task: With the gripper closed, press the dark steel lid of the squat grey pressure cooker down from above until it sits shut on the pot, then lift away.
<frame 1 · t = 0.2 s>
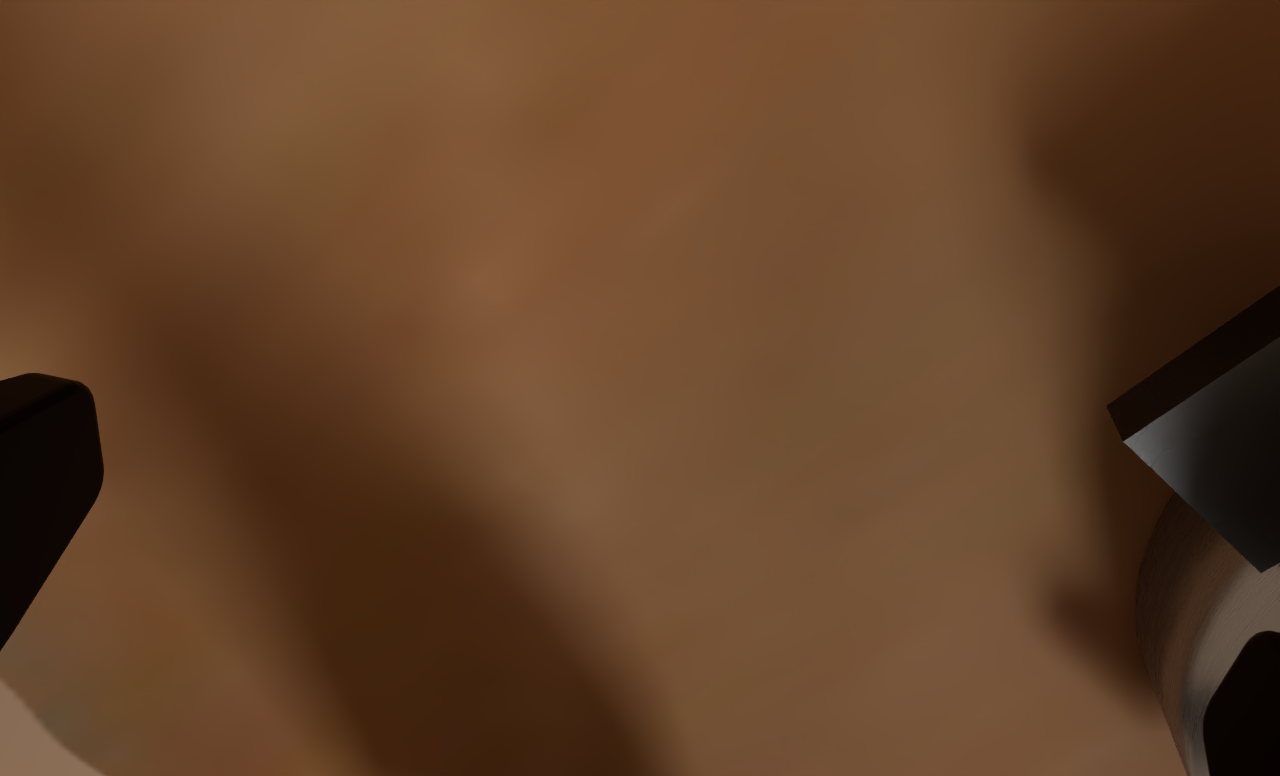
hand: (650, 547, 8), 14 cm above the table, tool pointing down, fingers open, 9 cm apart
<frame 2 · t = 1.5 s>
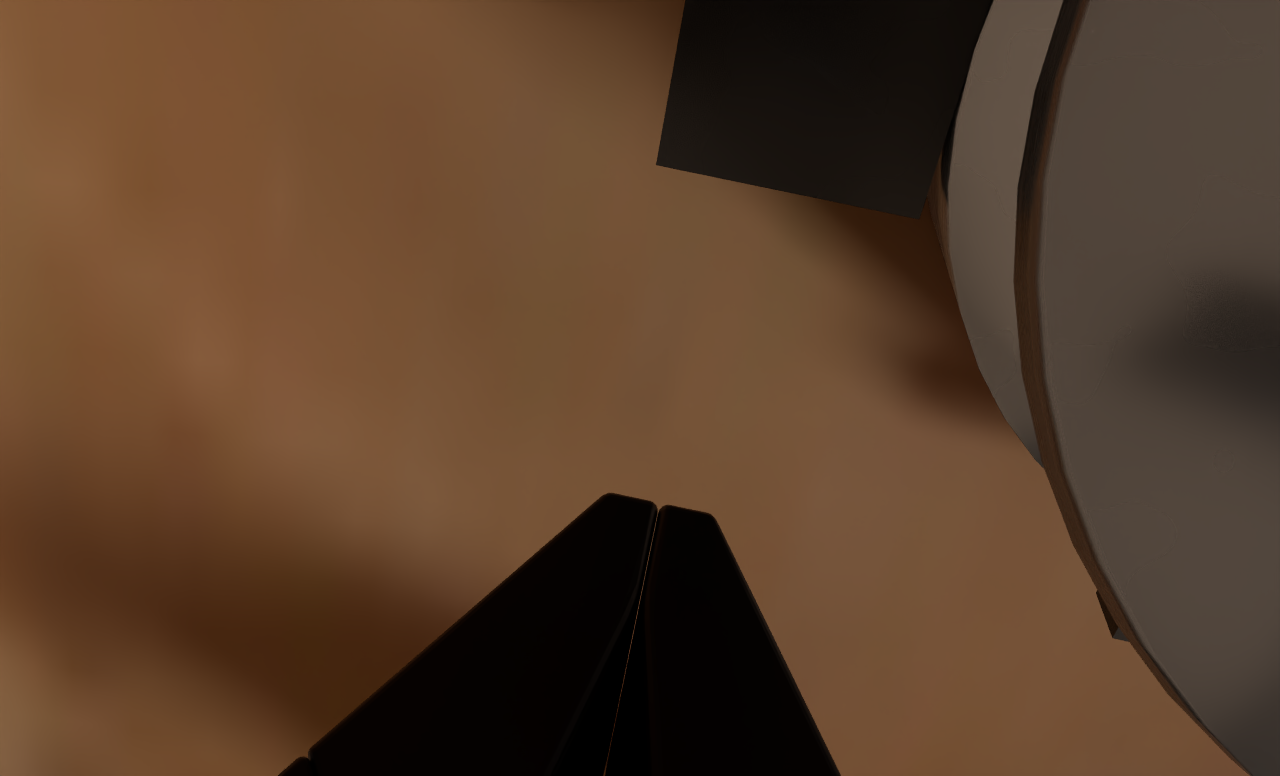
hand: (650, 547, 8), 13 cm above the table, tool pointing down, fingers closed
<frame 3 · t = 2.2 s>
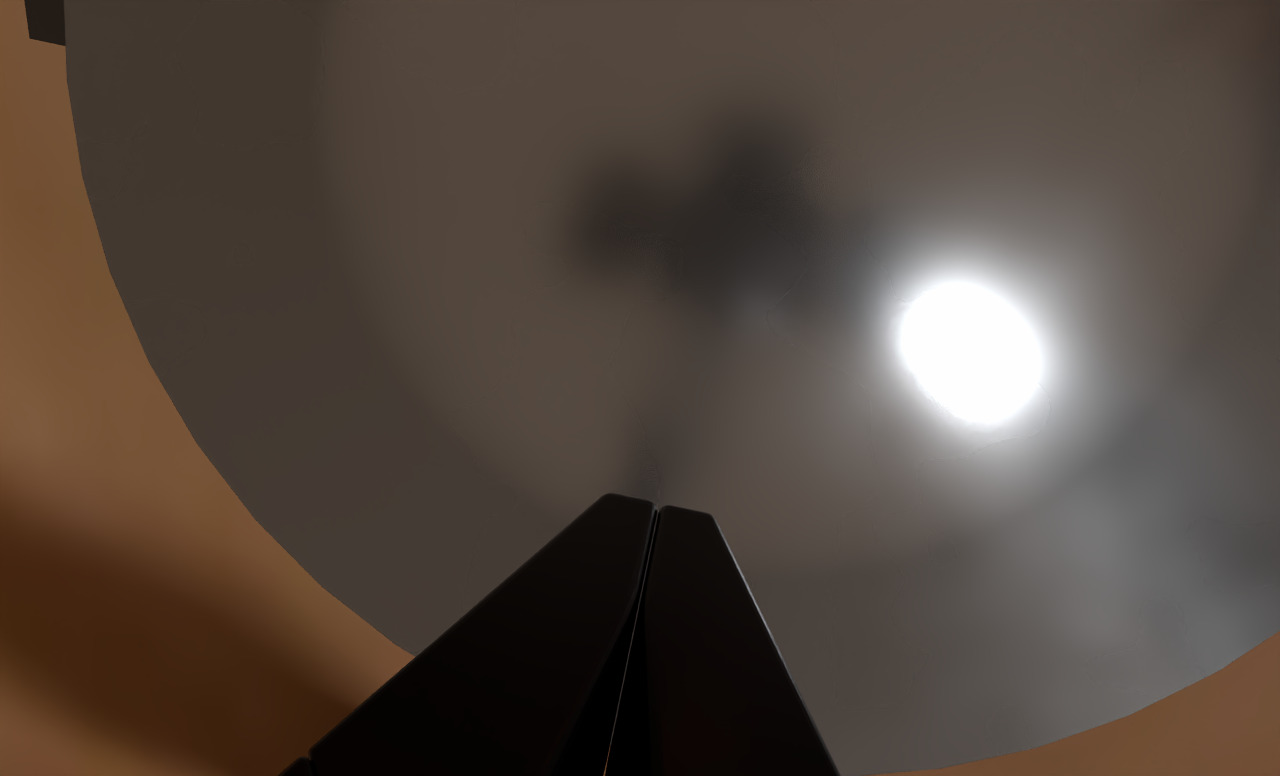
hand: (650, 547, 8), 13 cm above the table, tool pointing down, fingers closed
lid: (820, 13, 10), point 9 cm above the table, hinge at 25.0°
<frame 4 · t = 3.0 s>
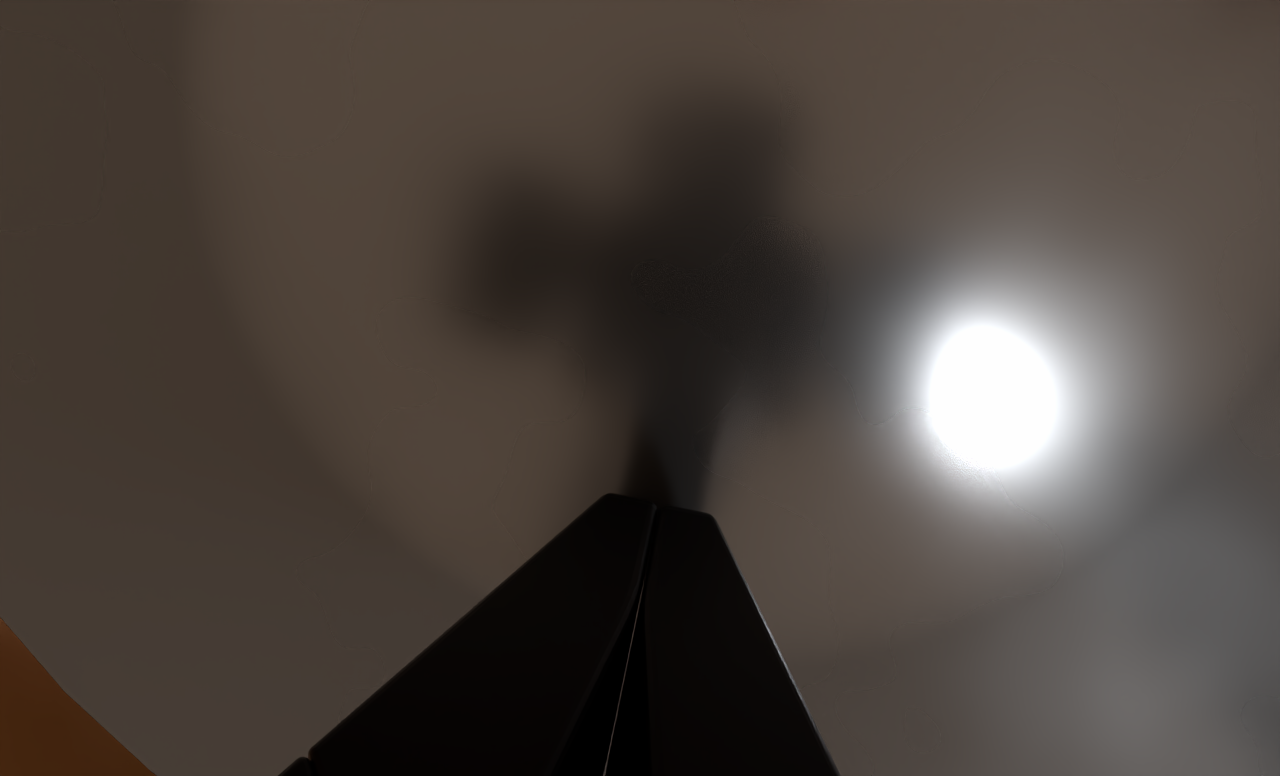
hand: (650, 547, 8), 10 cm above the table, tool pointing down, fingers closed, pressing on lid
lid: (756, 45, 7), point 8 cm above the table, hinge at 21.1°, touching gripper
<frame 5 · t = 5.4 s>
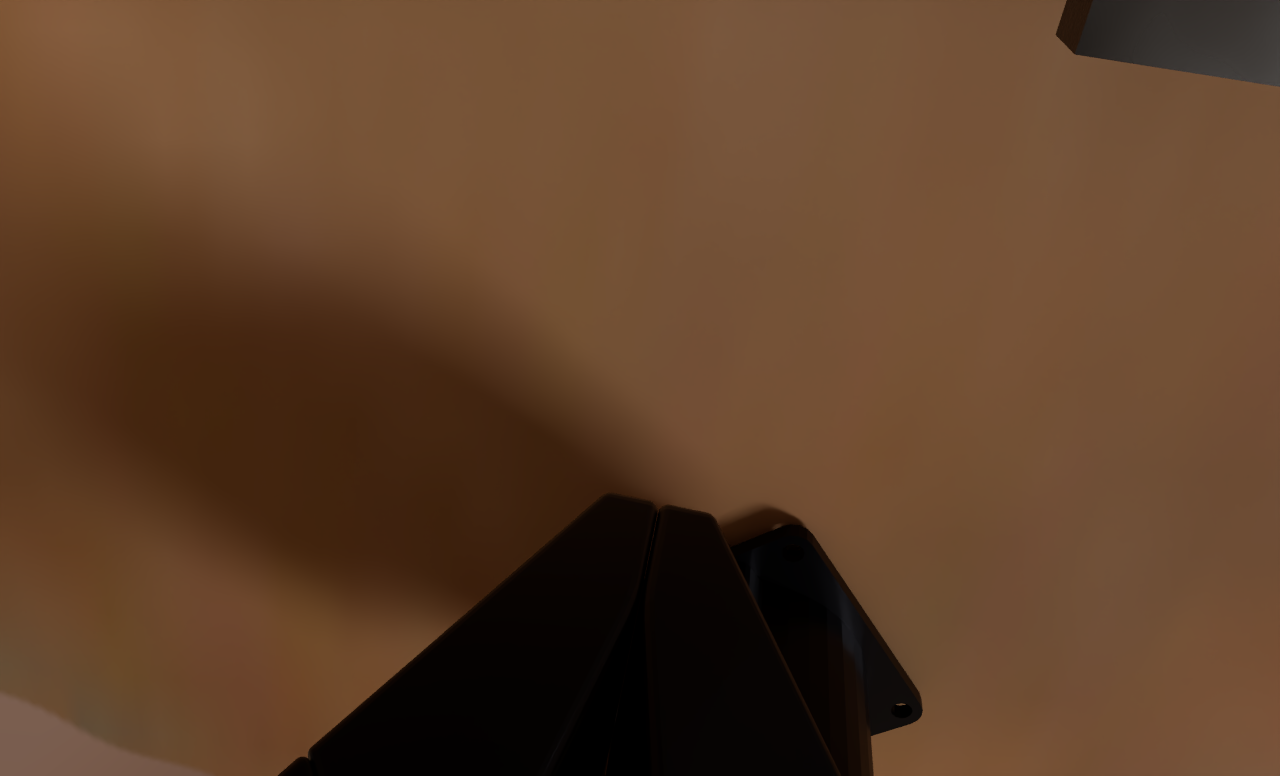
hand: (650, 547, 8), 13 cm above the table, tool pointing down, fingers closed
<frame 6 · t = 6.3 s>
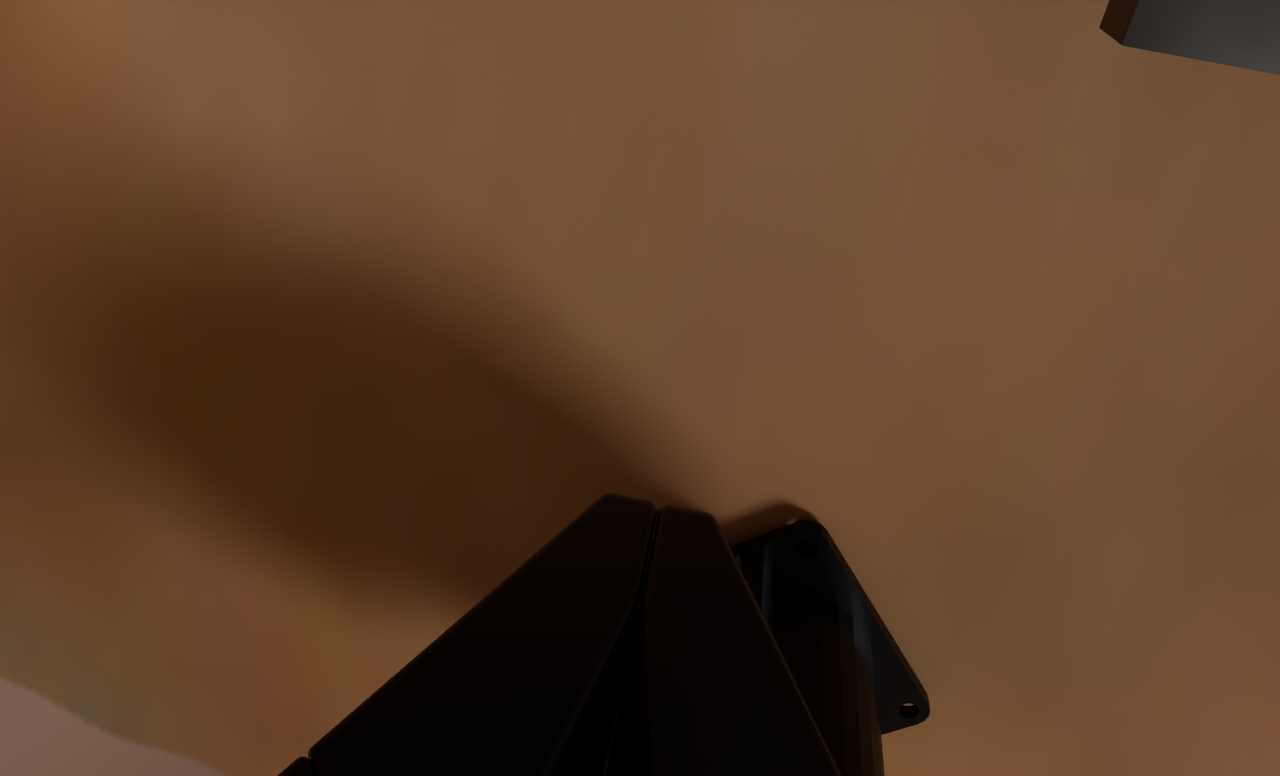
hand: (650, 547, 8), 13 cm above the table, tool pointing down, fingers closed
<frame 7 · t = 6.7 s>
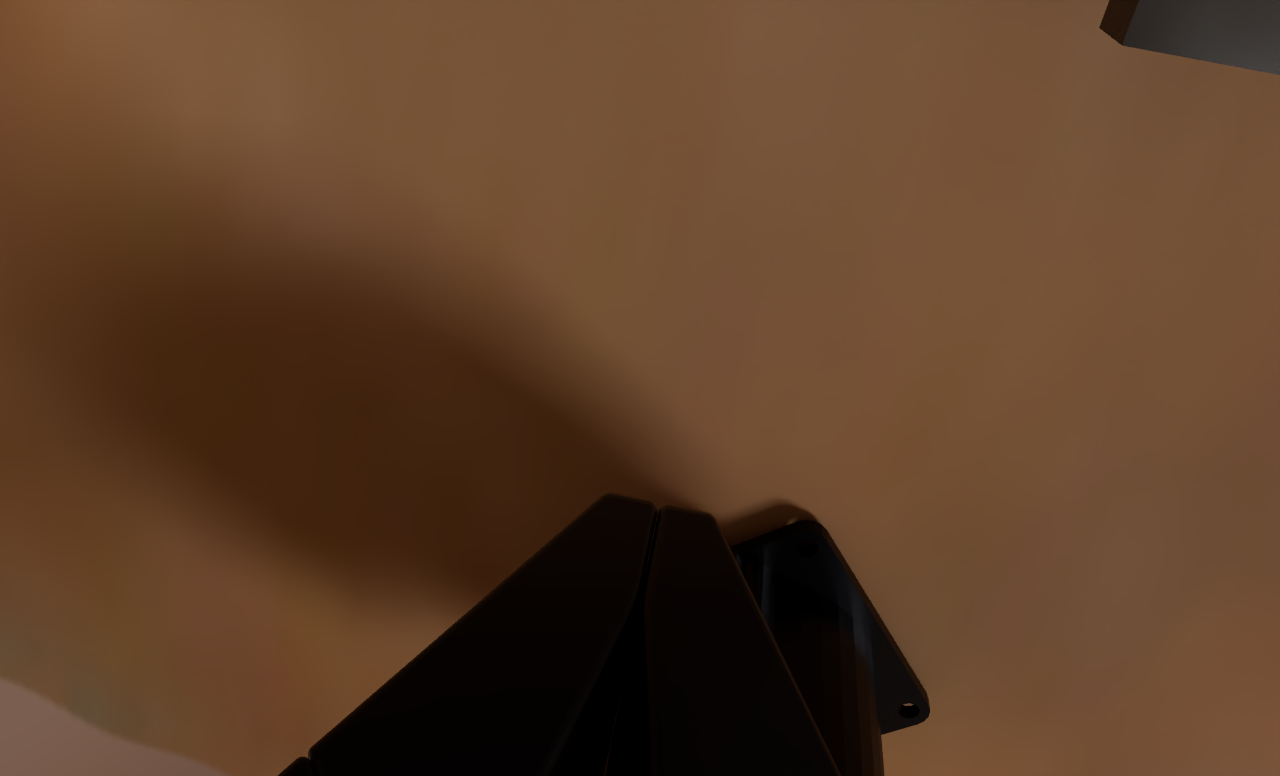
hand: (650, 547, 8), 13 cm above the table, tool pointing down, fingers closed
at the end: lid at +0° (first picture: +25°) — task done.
